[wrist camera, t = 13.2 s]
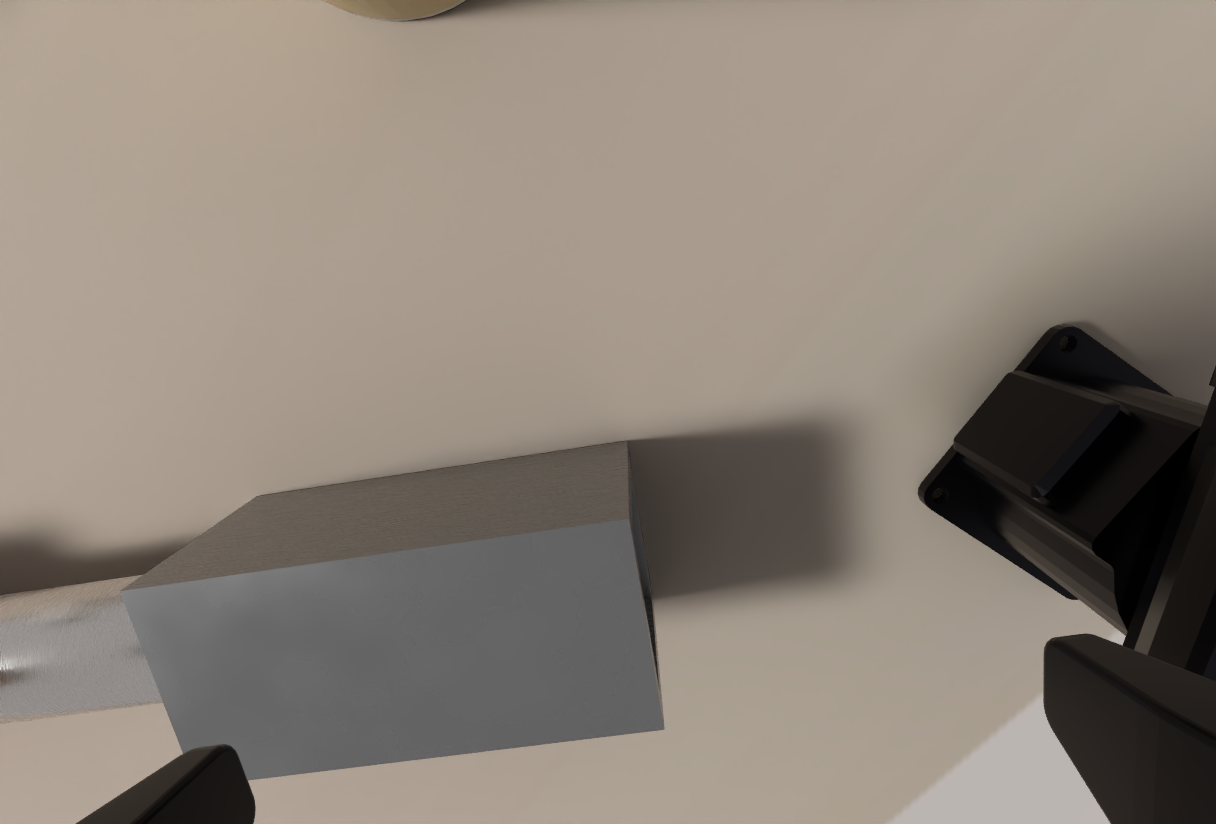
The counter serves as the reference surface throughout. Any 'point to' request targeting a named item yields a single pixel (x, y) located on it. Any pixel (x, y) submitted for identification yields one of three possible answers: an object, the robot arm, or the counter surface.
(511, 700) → the steel block
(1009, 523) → the robot arm
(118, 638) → the brown and silver piece
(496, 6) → the counter surface
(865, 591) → the counter surface
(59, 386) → the counter surface
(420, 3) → the coffee cup
